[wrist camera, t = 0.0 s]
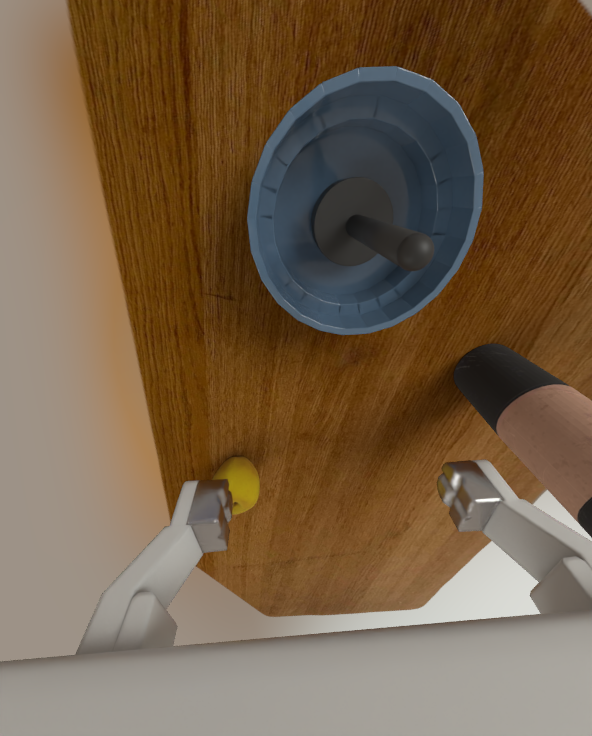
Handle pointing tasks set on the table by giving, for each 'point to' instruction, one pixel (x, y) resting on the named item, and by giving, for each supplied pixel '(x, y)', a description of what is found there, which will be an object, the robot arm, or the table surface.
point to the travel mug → (535, 421)
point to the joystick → (365, 227)
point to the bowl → (381, 164)
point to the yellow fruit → (240, 482)
